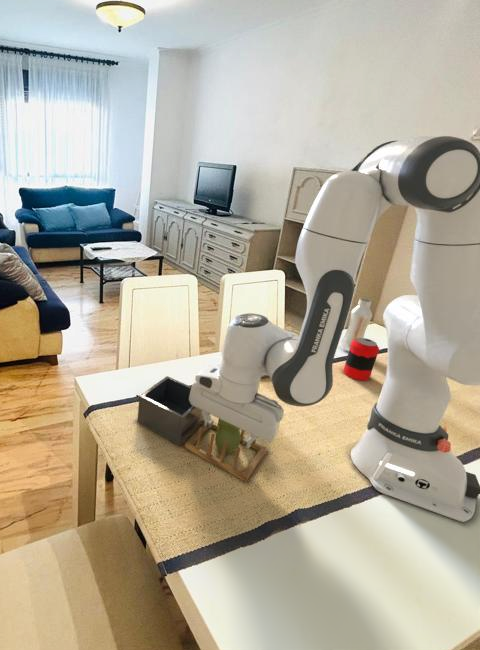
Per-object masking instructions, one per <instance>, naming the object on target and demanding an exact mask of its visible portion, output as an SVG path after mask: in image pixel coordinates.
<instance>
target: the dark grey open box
mask: <svg viewBox="0 0 480 650" xmlns="http://www.w3.org/2000/svg"><path fill="white" fill-rule="evenodd" d="M191 387H192V386H191V385H188V384H186V383H184V382H181V381H179V380H177V379H175V378H173V377H171V376H168V375H167V376H165V377H164V378H162V379H160V380H159V381H158V382H156V383H155V384H154V385H152V386H151V387H149V388H148V389H147V390H145V391H144V392H142V393H141V394H140V395H139V396H138V409H137V410H138V411H137V419H136V420H137V421H136V423H138V424H140V425H141V426H143V427H145V428H147V429H149V430H151V431H152V432H154V433H156V434H157V435H160V436H161V437H162V438H165V439H167V440H168V441H170V442H172V443H173V444H176V445H177V446H178V447H179V446H181V445H182V444H183V443H184V442H185V441H186V440H187V439H188V438H190V436H191V435H192V434H193V433H194V432H195V431H197V429H199V428H200V426H201V425H202V424H203V423H205V420H204V418H203V415H202V410H201V409H199V408H196V407H194V406H192V405H191V403H190V401H189V395H190V391H191Z"/></svg>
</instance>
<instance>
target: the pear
mask: <svg viewBox="0 0 480 650" xmlns="http://www.w3.org/2000/svg"><path fill="white" fill-rule="evenodd" d="M219 423H220V426H219V427H218V429H217V430H215V431H216V432H215V435H214V442H215V445H216V447H217V449H218V450H219V451H220V452H222V449H223V443H224V440H227V446H226V451H225V454H232V453H234V452H236V450H237V447H240V444H241V442H240V440H241V429H240V428H238V427H236V426H234V425H231V424H229V423H227V422H225V421H223V420H221V419H220V421H219Z"/></svg>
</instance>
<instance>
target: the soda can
mask: <svg viewBox="0 0 480 650" xmlns="http://www.w3.org/2000/svg"><path fill="white" fill-rule="evenodd" d="M379 351H380V348H379V345H378V343H377V342H376V341H374V340H372V339H370V338H366V337H364V338H357V339H356V340H354V341H352V343H351V346H350V350H349V351H348V354H347V357H346V360H345V364H344V366H343V369H342V370H343V373H344V374H345V375H346V376H347V377H348V378H351V379H354V380H356V381H368V380H370V379H371V375H372V372H373V369H374V366H375V364H376V361H377V360H376V359H377V357H378V355H379Z"/></svg>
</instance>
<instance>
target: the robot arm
mask: <svg viewBox="0 0 480 650" xmlns="http://www.w3.org/2000/svg"><path fill="white" fill-rule="evenodd" d="M318 191H319V192H318V193H317V195H316V197H315V199H314V201H313V202H312V205H311V207H310V209H309V210H308V214H307V215H306V218H305V221H304V223H303V227H302V228H301V232H300V234H299V237H298V240H297V245H296V250H295V257H294V263H295V267H296V269H297V272H298V274H299V276H300V278H301V281H302V284H303V288H304V290H305V294H306V312H305V315H304V319H303V323H302V326H301V329H300V332H299V334H298V333H297V332H295V331H292V330H287V329H284V328H282V327H280V326H278V325H277V324H274V323H273V322H271V320H269V318H268V317H267V316H264V315H262V314H259V313H252V312H251V313H250V312H248V313H242V314H239V315H237V316H235V317H233V318H232V319H231V321H230V322H229V323H228V325H227V328H226V331H225V334H224V338H223V342H222V347H221V362H220V364H219V365H212V364H210V365H209V364H208V365H207V366H205V367H204V368H202V369H201V370H200V371H199V372H198V373H197V374H196V375H195V378H194V379H195V382H193V384H192V385H191V386H190V387H191V391H190V395H189V401H190V403H191V405H192V406H194V407H196V408H199V409H201V410H202V415H203V418H204V420H205V421H204V424H205V425H204V424H203V425H204V426H205V427H207V428H209V429H208V430H210V429H212V427H213V423H214V422H215V420H214V419H213V418H212V417H211V416H213V417H215V418H217V419H218V420H219V419H221V420H223V421H225V422H227V423H229V424H231V425H234V426H236V427H238V428H240V430H244V432H246V433H248V434H249V436H247V435H246V436H244V437H245V439H244V440H243V443H242V444H241V445H242V447H244V448H246V449H248V450H249V449H250V448H251V447H250V446H251V444H252V442H253V441H254V440H256V441H257V439H260V440H263V441H264V442H266V443H270V442H273V441H274V440H275V439H276V438H277V436H278V434H279V430H280V423H281V421H282V420H283V417H284V415H285V414H284V411H285V410H284V408H283V406H282V405H281V404H280V403H279V401H277V400H275V399H272V398H269V397H267V396H265V395H263V394H261V393H259V388H260V384H261V379H262V378H263V377H262V376H263V375H269V378H270V380H271V384H272V387H273V390H274V392H275V396H277V398H278V399H279V400H280V401H281V402H283V403H284V404H287V405H289V406H294V407H299V408H300V407H301V408H302V407H311V406H313V405H317V404H318V403H320V402H322V400H324V399H325V398H326V397H327V396H328V395H329V393H330V392H331V390H332V388H333V383H334V374H333V364H334V359H335V356H336V352H337V349H338V346H339V343H340V340H341V336H342V334H343V331H344V327H345V325H346V321H347V318H348V315H349V311H350V309H351V305H352V301H353V297H354V296H353V295H354V292H355V291H354V290H355V284H356V279H357V275H358V270H359V267H360V265H361V261H362V258H363V255H364V253H365V250H366V248H367V245H368V243H369V240H370V238H371V236H372V234H373V230H374V229H375V228H374V227H375V225H376V224H377V222H378V220H379V219H380V217H381V216H382V215H383V214H384V213H385V212H386V211H387V210H388V209H389V208H392V206H397V207H413V208H414V211H415V213H416V226H415V231H414V237H413V238H414V239H413V246H412V253H411V254H412V255H411V262H410V270H409V277H410V282H411V285H412V287H413V289H414V291H415V292H416V294H405V295H401V296H398V297H396V298H394V299H393V300H392V301H391V302H390V303H389V304H387V306H386V307H385V309H384V311H383V316H382V322H383V324H384V327H385V330H386V337H387V361H386V362H387V363H386V372H385V377H384V382H383V384H382V387H381V391H380V393H379V397H378V400H377V401H376V402H375V403H374V404H373V406H372V407H371V409H370V412H369V416H368V419H367V422H366V423H367V424H366V428H365V431H364V432H363V434H362V436H361V438H360V439H359V440H358V442H357V443H356V444H355V445H354V446H353V447H352V449H351V451H350V458H351V461H352V463H353V465H354V466H355V467H356V469H358V470H359V472H361V474H363V476H365V477H366V478H367V479H368V480H369V482H370V483H371V485H372V486H373V488H374V489H375V490H376V491H378V492H379V493H381V494H383V495H386V496H389V497H392V498H395V499H398V500H399V501H403V502H405V503H409V504H411V505H414V506H417V507H418V508H422V509H425V510H428V511H431V512H433V513H436V514H438V515H441V516H444V517H447V518H449V519H452V520H456V521H458V522H461V523H465V522H468V521H470V520H471V519H472V518H473V516H474V514H475V511H476V500H477V498H478V497H479V496H480V483H479V480H478V477H477V475H476V474H475V473H471V472H468V471H466V468H465V466H464V464H463V462H462V461H461V460H460V459H459V458H458V457H457V456H456V454H454V453H453V452H452V451H451V449H452V448H451V446H452V444H451V442H450V441H449V433H448V432H447V427H446V425H444V426H441V423H442V421H443V419H444V416H445V413H446V411H447V409H448V407H449V405H450V402H451V398H452V393H451V388H450V385H449V382H448V380H447V379H449V380H451V381H454V382H456V383H458V384H460V385H463V386H469V387H475V386H476V387H477V386H480V150H479V149H478V147H477V146H476V145H475V144H473V143H472V142H470V141H468V140H467V139H464V138H460V137H456V136H450V135H444V136H443V135H441V136H413V137H409V138H406V139H401V140H391V141H386V142H383V143H381V144H379V145H377V146H375V147H373V148H372V149H370V150H369V151H367V153H366V154H365V155H364V156H363V157H362V158H361V159H360V161H359V162H358V163H357V164H356V165H355V166H354V167H353V168H352V169H351V170H344V171H340V172H338V173H335V174H333V175H331V176H329V177H328V178H327V179H326V181H325V182H324V183H323V185H322V187H321V188H320V189H319V190H318Z"/></svg>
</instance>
